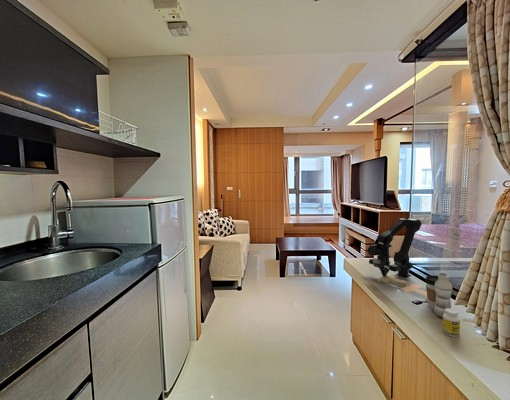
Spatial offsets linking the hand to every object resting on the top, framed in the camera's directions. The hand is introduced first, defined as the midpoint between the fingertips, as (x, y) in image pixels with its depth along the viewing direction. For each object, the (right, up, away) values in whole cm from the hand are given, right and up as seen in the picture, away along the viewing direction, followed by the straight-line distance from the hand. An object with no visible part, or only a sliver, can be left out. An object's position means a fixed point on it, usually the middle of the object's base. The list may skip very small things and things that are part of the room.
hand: (384, 277), depth 151 cm
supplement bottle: (-3, -5, -55) cm, 55 cm away
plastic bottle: (+3, -4, -43) cm, 43 cm away
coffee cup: (+6, -3, -35) cm, 36 cm away
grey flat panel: (+6, -2, -13) cm, 15 cm away
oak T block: (+3, -1, -7) cm, 7 cm away
